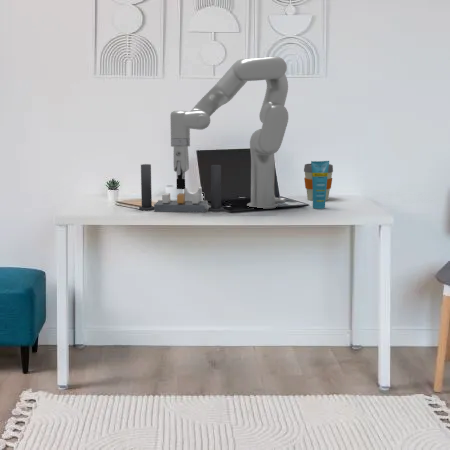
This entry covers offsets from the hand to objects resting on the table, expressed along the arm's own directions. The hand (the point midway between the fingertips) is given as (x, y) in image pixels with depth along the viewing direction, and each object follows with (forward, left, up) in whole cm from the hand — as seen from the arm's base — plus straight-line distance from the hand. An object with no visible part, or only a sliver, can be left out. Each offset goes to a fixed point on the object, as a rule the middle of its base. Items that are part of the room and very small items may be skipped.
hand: (180, 188), depth 306 cm
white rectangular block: (+6, 0, -6) cm, 8 cm away
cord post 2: (-14, 0, -9) cm, 16 cm away
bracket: (-3, -19, -9) cm, 21 cm away
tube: (-55, -9, -9) cm, 56 cm away
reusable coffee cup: (-55, -32, -9) cm, 64 cm away
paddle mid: (0, 0, -6) cm, 6 cm away
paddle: (-6, 0, -6) cm, 8 cm away
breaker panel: (0, 0, -9) cm, 9 cm away
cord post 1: (+14, 0, -9) cm, 16 cm away
